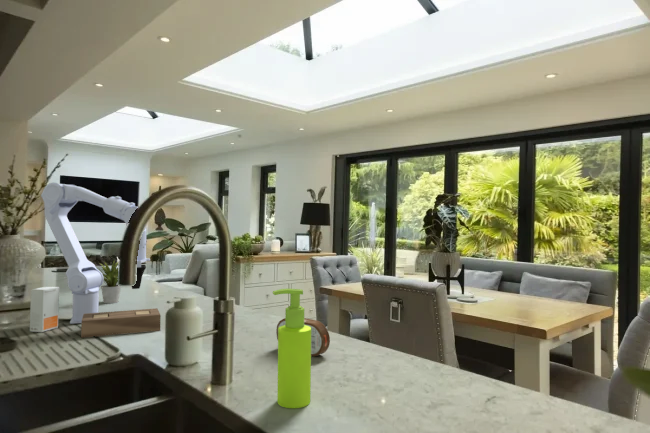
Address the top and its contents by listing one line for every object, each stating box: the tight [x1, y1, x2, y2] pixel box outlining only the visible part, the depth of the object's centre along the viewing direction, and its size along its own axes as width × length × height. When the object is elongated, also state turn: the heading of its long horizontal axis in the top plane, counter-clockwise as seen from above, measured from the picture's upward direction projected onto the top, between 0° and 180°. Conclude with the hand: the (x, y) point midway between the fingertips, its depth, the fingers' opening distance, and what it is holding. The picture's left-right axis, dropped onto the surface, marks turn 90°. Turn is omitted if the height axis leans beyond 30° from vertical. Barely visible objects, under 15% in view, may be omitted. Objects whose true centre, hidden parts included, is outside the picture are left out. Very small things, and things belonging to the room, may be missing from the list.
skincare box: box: [29, 286, 60, 333], centre depth 127 cm, size 6×4×12 cm
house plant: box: [96, 259, 122, 304], centre depth 170 cm, size 14×14×16 cm
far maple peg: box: [136, 311, 150, 315], centre depth 130 cm, size 4×4×4 cm
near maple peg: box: [93, 314, 108, 318], centre depth 125 cm, size 4×4×4 cm
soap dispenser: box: [272, 288, 312, 409], centre depth 79 cm, size 6×7×20 cm
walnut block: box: [80, 308, 162, 339], centre depth 128 cm, size 10×20×4 cm, turn 116°
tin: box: [275, 317, 331, 357], centre depth 108 cm, size 15×3×8 cm, turn 55°
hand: (135, 288), depth 137 cm, fingers closed
